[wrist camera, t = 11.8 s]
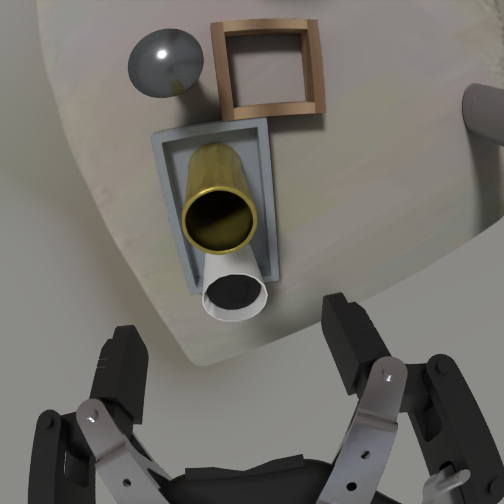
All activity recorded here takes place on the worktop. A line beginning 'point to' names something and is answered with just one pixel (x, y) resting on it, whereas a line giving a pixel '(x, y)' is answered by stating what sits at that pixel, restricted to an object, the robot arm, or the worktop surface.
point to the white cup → (233, 286)
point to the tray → (254, 169)
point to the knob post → (165, 63)
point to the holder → (309, 59)
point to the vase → (218, 201)
